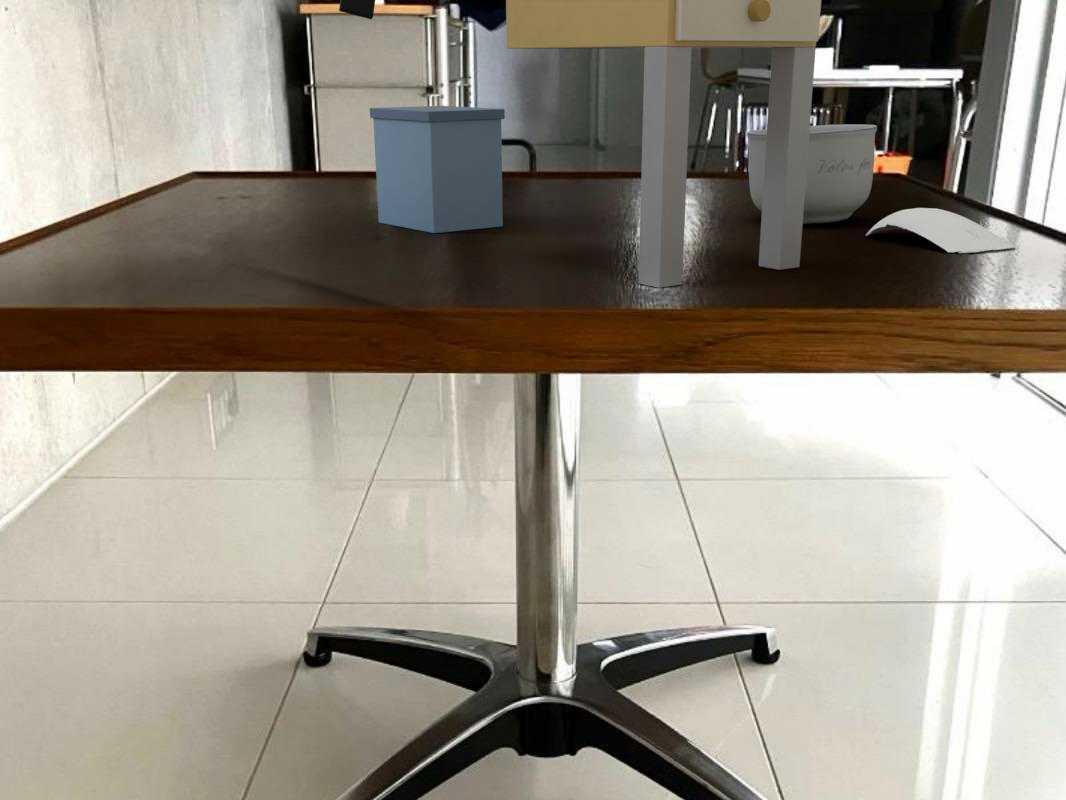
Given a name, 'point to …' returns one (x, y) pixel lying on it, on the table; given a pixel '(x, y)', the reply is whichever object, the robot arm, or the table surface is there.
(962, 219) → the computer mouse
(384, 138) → the storage box
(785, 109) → the drawer chest
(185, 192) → the table surface
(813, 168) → the teacup
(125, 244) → the table surface
